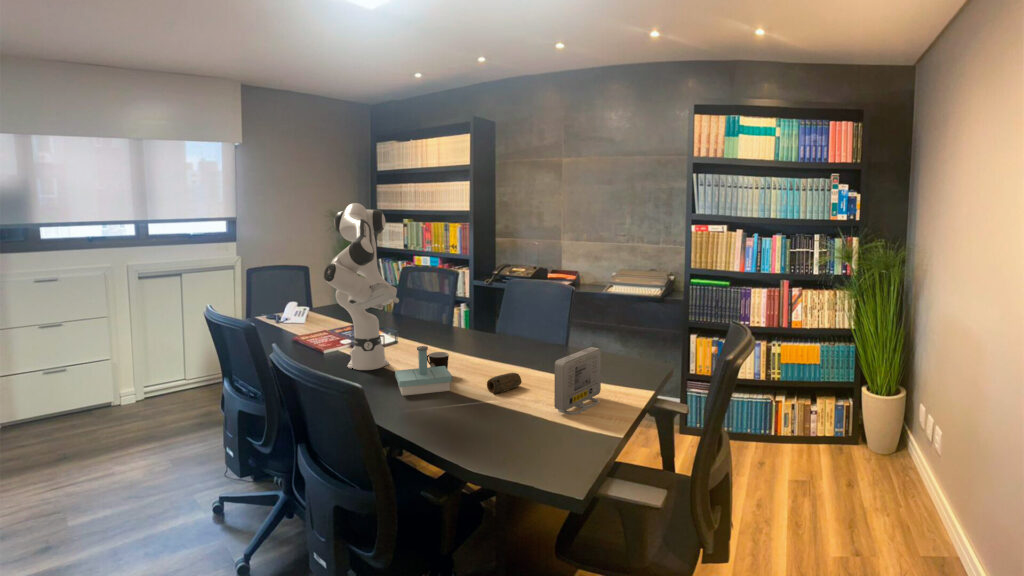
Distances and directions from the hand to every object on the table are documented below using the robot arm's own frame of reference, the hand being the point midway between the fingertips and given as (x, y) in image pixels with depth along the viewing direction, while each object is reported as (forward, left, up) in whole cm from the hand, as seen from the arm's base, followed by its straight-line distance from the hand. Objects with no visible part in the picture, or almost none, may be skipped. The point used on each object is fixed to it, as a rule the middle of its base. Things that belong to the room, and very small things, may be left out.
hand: (390, 304), depth 245 cm
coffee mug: (-10, +21, -35) cm, 42 cm away
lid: (+6, +12, -30) cm, 33 cm away
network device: (+44, +64, -35) cm, 85 cm away
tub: (+6, +12, -35) cm, 37 cm away
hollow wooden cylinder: (+17, +43, -35) cm, 58 cm away
